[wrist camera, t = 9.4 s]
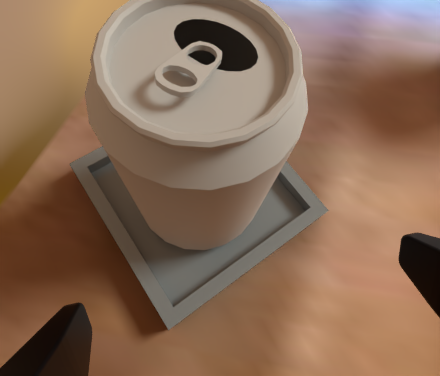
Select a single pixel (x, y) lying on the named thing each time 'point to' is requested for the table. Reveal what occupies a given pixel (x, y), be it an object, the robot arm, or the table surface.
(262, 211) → the slate dish
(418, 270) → the robot arm
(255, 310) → the table surface
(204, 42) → the can
